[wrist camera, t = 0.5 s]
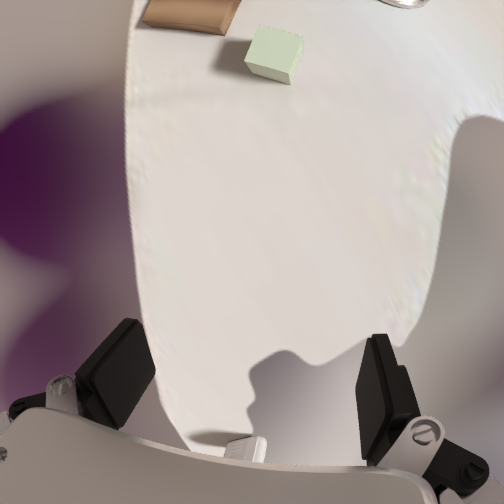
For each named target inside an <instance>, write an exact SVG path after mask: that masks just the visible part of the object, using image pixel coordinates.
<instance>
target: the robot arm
mask: <svg viewBox="0 0 504 504" xmlns="http://www.w3.org/2000/svg"><path fill="white" fill-rule="evenodd" d="M381 1H384V2H386V3H388V4H391V5H394V6H398V7H402V8H418V7H422V6H424V5H425V4H427V3H428V2H429V1H430V0H381ZM155 371H156V369H155V365H154V362H153V359H152V356H151V353H150V349H149V346H148V343H147V339H146V336H145V332H144V329H143V325H142V324H141V323H140V322H139V321H138V320H137V319H131V318H125V319H124V320H123V321H122V322H121V323H120V324H119V325H118V326H117V327H116V328H115V330H113V332H111V334H110V335H109V336H108V337H107V338H106V339H105V340H104V341H103V342H102V343H101V345H100V346H99V347H98V348H97V349H96V350H95V351H94V352H93V353H92V354H91V356H90V357H89V358H88V359H87V360H86V361H85V362H84V363H83V365H82V366H81V367H80V368H79V369H78V370H77V372H75V375H76V378H75V379H73V378H72V377H71V376H68V375H60V376H57V377H55V378H53V379H52V380H51V381H50V382H49V383H48V385H47V389H46V392H44V393H40V394H36V395H32V396H28V397H24V398H20V399H17V400H16V401H14V402H13V403H12V404H11V406H10V408H9V413H7V411H4V412H2V413H0V504H504V486H503V485H502V484H501V483H500V482H499V481H498V480H497V479H496V478H494V479H491V478H490V477H489V466H488V464H487V463H486V461H485V460H484V459H483V458H481V457H479V456H477V455H475V454H473V453H471V452H469V451H467V450H466V449H464V448H462V447H460V446H458V445H456V444H454V443H452V442H450V441H448V440H447V439H445V438H444V436H445V431H444V427H443V425H442V424H441V423H440V421H438V420H437V419H435V418H433V417H430V416H421V414H420V410H419V407H418V404H417V400H416V397H415V394H414V391H413V387H412V384H411V381H410V378H409V375H408V372H407V369H406V368H405V366H404V365H399V366H398V364H397V361H396V358H395V355H394V352H393V349H392V346H391V343H390V340H389V337H388V335H387V334H373V335H372V337H371V338H367V341H366V346H365V350H364V355H363V359H362V363H361V367H360V371H359V375H358V379H357V383H356V389H355V390H356V391H355V392H356V401H357V411H358V420H359V430H360V440H361V454H362V459H363V460H366V461H367V466H298V465H281V464H268V463H259V462H250V461H242V460H235V459H229V458H222V457H217V456H211V455H206V454H201V453H196V452H191V451H186V450H182V449H178V448H174V447H170V446H166V445H163V444H159V443H155V442H152V441H149V440H145V439H142V438H139V437H136V436H133V435H129V434H126V433H123V432H121V431H118V430H119V428H121V427H123V426H124V424H125V423H126V421H127V419H128V418H129V416H130V414H131V413H132V411H133V409H134V408H135V406H136V405H137V403H138V401H139V400H140V398H141V396H142V394H143V393H144V391H145V390H146V388H147V387H148V385H149V383H150V382H151V380H152V379H153V377H154V375H155ZM371 466H374V467H371Z"/></svg>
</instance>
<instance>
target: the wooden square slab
mask: <svg viewBox="0 0 504 504" xmlns="http://www.w3.org/2000/svg"><path fill="white" fill-rule="evenodd" d="M240 2H241V0H151V1H150V3H149V5H148V7H147V9H146V11H145V14H144V16H143V18H142V20H141V21H143V22H144V23H146V24H148V25H149V26H151V27H162V28H174V29H184V30H192V31H199V32H206V33H212V34H218V35H224V36H225V35H226V33H227V30H228V28H229V26H230V24H231V21H232V19H233V17H234V15H235V13H236V11H237V8H238V6H239V4H240Z"/></svg>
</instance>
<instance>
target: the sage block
mask: <svg viewBox="0 0 504 504" xmlns="http://www.w3.org/2000/svg"><path fill="white" fill-rule="evenodd" d="M302 55H303V36H300V35H297V34H294V33H290V32H287V31H283V30H280V29H276V28H272V27H268V26H264V25H259V26H258V29H257V31H256V33H255V36H254V38H253V40H252V43H251V45H250V47H249V50H248V52H247V55H246V57H245V60H244V62H245V63H246V64H247V66H248V67H249V69H250V70H251V71H252V73H253V74H256V75H260V76H263V77H267V78H270V79H273V80H277V81H280V82H283V83H286V84H289V85H291V83H292V80H293V78H294V75H295V73H296V70H297V67H298V65H299V62H300V60H301V57H302Z"/></svg>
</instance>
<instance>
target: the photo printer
mask: <svg viewBox="0 0 504 504" xmlns="http://www.w3.org/2000/svg"><path fill="white" fill-rule="evenodd" d="M266 447H267V443H266V440H265V439H264V438H263V437H261V436H255V437H249V438H245V439H240V440H236V441H232V442H229V443H228V444H227V447H226V450H225V453H224V457H223V458H229V459H235V460H242V461H250V462H259V463H263V462H264V457H265V452H266Z"/></svg>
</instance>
